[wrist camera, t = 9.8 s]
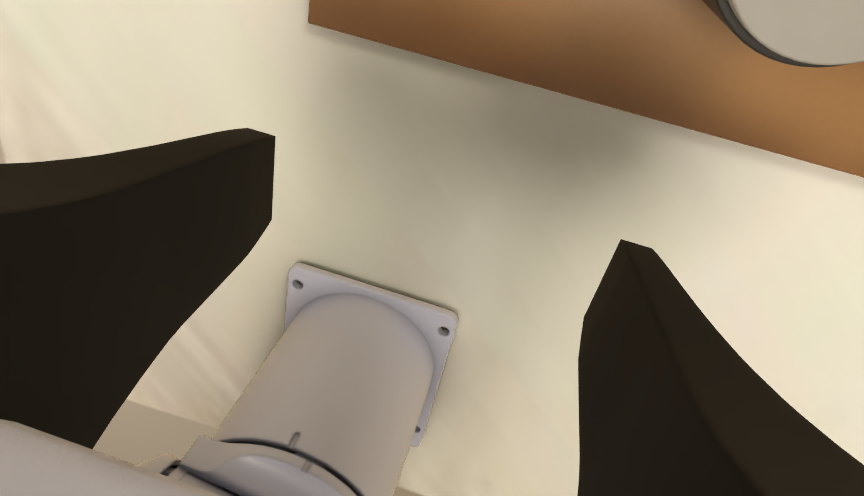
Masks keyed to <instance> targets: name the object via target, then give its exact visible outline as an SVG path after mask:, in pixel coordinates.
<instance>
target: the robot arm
mask: <svg viewBox="0 0 864 496" xmlns="http://www.w3.org/2000/svg"><path fill="white" fill-rule="evenodd" d="M274 154H275V136H273V135H269V134H266V133H263V132H259V131H256V130H253V129H249V128H242V129H233V130H227V131H221V132H216V133H211V134H206V135H201V136H196V137H192V138H187V139H182V140H178V141H173V142H168V143H164V144H159V145H154V146H148V147H143V148H137V149H132V150H126V151H121V152H115V153H110V154H104V155H97V156H90V157H82V158H75V159H65V160H55V161H45V162H32V163H11V164H0V496H393V495H394V492H395V489H396V486H397V483H398V480H399V477H400V474H401V471H402V468H403V465H404V462H405V459H406V456H407V453H408V450H409V447H410V446H413V447H415V446H419V445H420V444H421V442H422V439H423V436H424V432H425V429H426V426H427V422H428V419H429V416H430V413H431V409H432V406H433V403H434V400H435V396H436V393H437V390H438V386H439V383H440V380H441V377H442V373H443V370H444V367H445V364H446V360H447V357H448V354H449V350H450V347H451V344H452V341H453V337H454V334H455V331H456V328H457V324H458V316H457V315H456V314H455V313H454V312H453V311H451V310H448V309H445V308H442V307H438V306H435V305H432V304H429V303H426V302H423V301H419V300H416V299H413V298H410V297H407V296H404V295H401V294H397V293H394V292H391V291H388V290H385V289H382V288H378V287H375V286H372V285H369V284H366V283H363V282H360V281H356V280H353V279H350V278H347V277H344V276H341V275H338V274H334V273H331V272H328V271H325V270H322V269H319V268H315V267H312V266H309V265H306V264H303V263H295V264H294V265H292V267H291V268H290V269H289V272H288V286H287V300H286V315H285V329H284V334H283V335H282V337H281V338H280V340H279V341H278V343H277V344H276V346H275V347H274V348H273V350H272V351H271V353H270V354H269V356H268V357H267V358H266V360H265V361H264V363H263V364H262V366H261V367H260V368H259V370H258V371H257V373H256V374H255V376H254V377H253V379H252V380H251V381H250V383H249V384H248V386H247V387H246V389H245V390H244V391H243V393H242V394H241V396H240V397H239V399H238V400H237V401H236V403H235V404H234V406H233V407H232V409H231V410H230V412H229V413H228V414H227V416H226V417H225V419H224V420H223V422H222V423H221V424H220V426H219V427H218V429H217V430H216V432H215V433H214V434H213V436H212V437H211V438H209V437H207V436H205V435H200V436H199V437H198V438H197V440H196V441H195V442H194V444H193V445H192V446H191V448H190V449H189V451H188V452H187V453H186V455H185V457H184V458H183V459H182V460H179V459H177V458H175V457H173V456H171V455H169V454H166V453H163V454H160V455H157V456H155V457H154V458H152V459H150V460H148V461H145V462H142V463H139V464H137V465H134V464H131V463H128V462H126V461H123V460H120V459H117V458H114V457H112V456H109V455H106V454H104V453H101V452H98V451H95V450H92V449H93V447H94V446H95V444H96V442H97V441H98V440H99V438H100V437H101V435H102V433H103V432H104V430H105V429H106V427H107V426H108V424H109V423H110V421H111V420H112V418H113V417H114V415H115V414H116V412H117V411H118V410H119V408H120V407H121V405H122V404H123V403H124V401H125V400H126V398H127V397H128V395H129V394H130V393H131V391H132V390H133V388H134V387H135V385H136V384H137V383H138V381H139V380H140V378H141V377H142V376H143V374H144V373H145V372H146V370H147V369H148V368H149V366H150V365H151V364H152V362H153V361H154V360H155V358H156V357H157V355H158V354H159V353H160V351H161V350H162V349H163V347H164V346H165V345H166V343H167V342H168V341H169V340H170V338H171V337H172V336H173V335H174V334H175V333H176V332H177V330H178V329H179V328H180V327H181V326H182V325H183V323H184V322H185V321H186V320H187V319H188V318H189V317H190V316H191V315H192V314H193V313H194V312H195V311H196V310H197V309H198V308H199V307H200V305H201V304H202V303H203V302H204V301H205V300H206V299H207V298H208V297H209V296H210V295H211V294H212V293H213V292H214V291H215V290H216V289H217V288H218V286H219V285H220V284H221V283H222V282H223V281H224V280H225V279H226V278H227V277H228V276H229V275H230V274H231V273H232V272H233V270H234V269H235V268H236V267H237V266H238V265H239V264H240V263H241V262H242V261H243V260H244V258H245V257H246V256H247V255H248V254H249V253H250V251H251V250H252V248H253V247H254V245H255V244H256V243H257V241H258V240H259V238H260V237H261V235H262V234H263V232H264V231H265V229H266V228H267V226H268V225H269V223H270V221H271V220H272V199H273V176H274ZM296 280H299V281H300V282H301V283H302V284H300V283H298V282H297V281H296ZM441 327H445V328H447V329H448V330H443V329H441ZM578 379H579V439H580V467H579V486H578V496H864V465H863V464H862V463H860V462H859V461H858V460H856V459H855V458H854V457H852V456H851V455H850V454H848V453H847V452H846V451H845V450H843V449H842V448H841V447H839V446H838V445H837V444H836V443H834V442H833V441H832V440H831V439H830V438H828V437H827V436H826V435H825V434H823V433H822V432H821V431H820V430H819V429H817V428H816V427H815V426H814V425H813V424H811V423H810V422H809V421H808V420H807V419H805V418H804V417H803V416H802V415H801V414H799V413H798V412H797V411H796V410H795V409H794V408H793V407H792V406H790V405H789V404H788V403H787V402H786V401H785V400H784V399H783V398H782V397H780V396H779V395H778V394H777V393H776V392H775V391H774V390H773V389H772V388H771V387H770V386H769V385H768V384H767V383H766V382H765V381H764V380H763V379H762V378H761V377H760V376H759V375H758V374H757V373H756V372H755V371H753V369H752V368H751V367H750V366H749V365H748V364H747V363H746V362H745V361H744V360H743V359H742V358H741V357H740V356H739V355H738V354H737V353H736V351H735V350H734V349H733V348H732V347H731V346H730V345H729V344H728V342H727V341H726V340H725V339H724V338H723V337H722V336H721V334H720V333H719V332H718V331H717V330H716V329H715V327H714V326H713V325H712V324H711V323H710V321H709V320H708V319H707V318H706V317H705V315H704V314H703V313H702V312H701V310H700V309H699V308H698V307H697V305H696V304H695V303H694V301H693V300H692V299H691V298H690V296H689V295H688V294H687V292H686V291H685V290H684V288H683V287H682V286H681V284H680V283H679V282H678V280H677V279H676V278H675V276H674V275H673V274H672V272H671V271H670V270H669V268H668V267H667V266H666V264H665V263H664V262H663V261H662V259H661V258H660V257H659V256H658V254H657V253H656V252H655V251H654V250H653V249H652V248H649V247H645V246H642V245H638V244H635V243H632V242H628V241H625V240H622V239H621V240H620V242H619V244H618V247H617V249H616V251H615V253H614V255H613V257H612V259H611V261H610V263H609V266H608V268H607V270H606V272H605V274H604V276H603V278H602V280H601V282H600V285H599V287H598V289H597V291H596V293H595V295H594V297H593V299H592V301H591V303H590V306H589V308H588V310H587V312H586V314H585V316H584V321H583V328H582V334H581V342H580V350H579V358H578Z"/></svg>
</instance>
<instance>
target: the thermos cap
mask: <svg viewBox="0 0 864 496" xmlns="http://www.w3.org/2000/svg"><path fill="white" fill-rule="evenodd" d="M702 1H703V2H704V3H705V4H706V5H707V6H708V7H709V8H710V9H711V10H712V11H713V12H714V13H715V14H716V15H717V16H718V18H719V19H720V20H721V21H722V22H723V23H724V24H725V25H726V26H727V27H728V28H729V29H730V30H731V31H732V32H733V33H734V34H735V35H736V36H737V37H738V38H739V39H740V40H741V41H742V42H743V43H744V44H746V45H747V46H748V47H750V48H751V49H752V50H754V51H755V52H757V53H759V54H761V55H763V56H765V57H767V58H769V59H772V60H775V61H778V62H781V63H784V64H789V65H794V66H799V67H814V68H820V67H836V66H842V65H848V64H853V63H857V62H863V61H864V0H702Z"/></svg>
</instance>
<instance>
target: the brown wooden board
mask: <svg viewBox="0 0 864 496" xmlns="http://www.w3.org/2000/svg"><path fill="white" fill-rule="evenodd" d="M308 23H310V24H314V25H318V26H321V27H325V28H328V29H332V30H336V31H339V32H343V33H346V34H350V35H354V36H357V37H361V38H364V39H368V40H372V41H375V42H379V43H382V44H386V45H390V46H393V47H397V48H400V49H404V50H408V51H411V52H415V53H418V54H422V55H426V56H429V57H433V58H436V59H440V60H443V61H447V62H451V63H454V64H458V65H461V66H465V67H469V68H472V69H476V70H479V71H483V72H487V73H490V74H494V75H497V76H501V77H505V78H508V79H512V80H515V81H519V82H523V83H526V84H530V85H533V86H537V87H541V88H544V89H548V90H551V91H555V92H559V93H562V94H566V95H569V96H573V97H577V98H580V99H584V100H587V101H591V102H594V103H598V104H602V105H605V106H609V107H612V108H616V109H620V110H623V111H627V112H630V113H634V114H638V115H641V116H645V117H648V118H652V119H656V120H659V121H663V122H666V123H670V124H674V125H677V126H681V127H684V128H688V129H692V130H695V131H699V132H702V133H706V134H710V135H713V136H717V137H720V138H724V139H728V140H731V141H735V142H738V143H742V144H745V145H749V146H753V147H756V148H760V149H763V150H767V151H771V152H774V153H778V154H781V155H785V156H789V157H792V158H796V159H799V160H803V161H807V162H810V163H814V164H817V165H821V166H825V167H828V168H832V169H835V170H839V171H843V172H846V173H850V174H853V175H857V176H861V177H864V61H863V62H857V63H853V64H848V65H842V66H836V67H820V68H814V67H799V66H794V65H789V64H784V63H781V62H778V61H775V60H772V59H769V58H767V57H765V56H763V55H761V54H759V53H757V52H755V51H754V50H752V49H751V48H750V47H748V46H747V45H746V44H744V43H743V42H742V41H741V40H740V39H739V38H738V37H737V36H736V35H735V34H734V33H733V32H732V31H731V30H730V29H729V28H728V27H727V26H726V25H725V24H724V23H723V22H722V21H721V20H720V19H719V18H718V16H717V15H716V14H715V13H714V12H713V11H712V10H711V9H710V8H709V7H708V6H707V5H706V4H705V3H704V2H703V1H702V0H310V2H309V16H308Z"/></svg>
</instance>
